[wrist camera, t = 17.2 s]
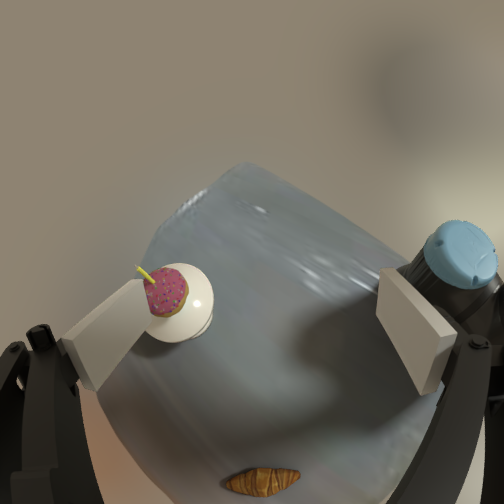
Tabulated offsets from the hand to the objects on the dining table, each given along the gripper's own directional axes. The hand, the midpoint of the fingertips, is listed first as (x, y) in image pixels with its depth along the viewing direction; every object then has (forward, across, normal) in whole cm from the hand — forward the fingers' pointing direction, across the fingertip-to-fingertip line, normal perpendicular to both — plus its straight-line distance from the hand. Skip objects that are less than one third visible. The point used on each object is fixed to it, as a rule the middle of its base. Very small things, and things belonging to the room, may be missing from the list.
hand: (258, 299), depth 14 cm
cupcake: (+28, -18, -14) cm, 36 cm away
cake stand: (+33, -19, -19) cm, 43 cm away
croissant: (+10, -3, -43) cm, 45 cm away
